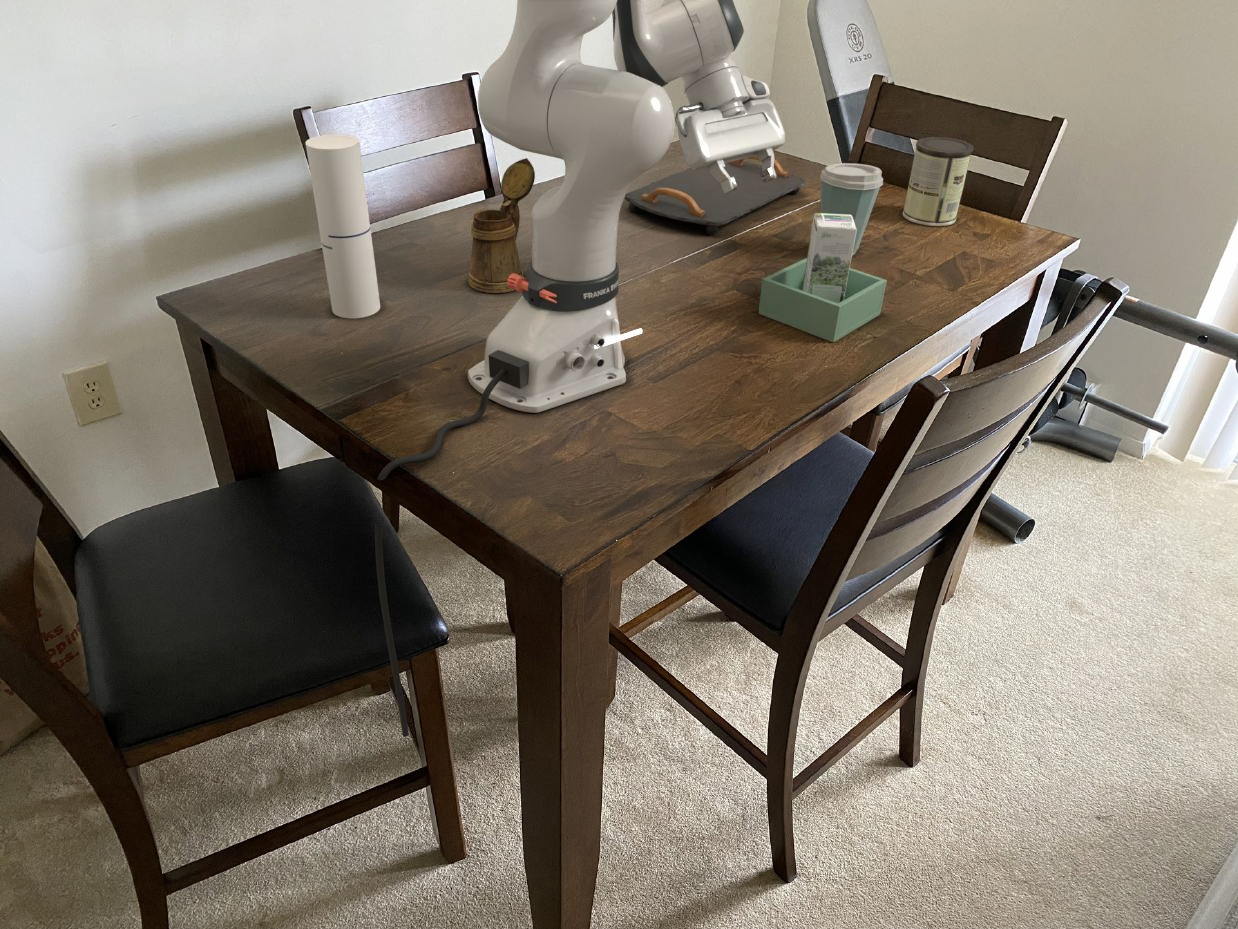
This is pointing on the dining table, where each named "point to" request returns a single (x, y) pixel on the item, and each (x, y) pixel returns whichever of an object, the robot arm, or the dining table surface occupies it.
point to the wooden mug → (500, 233)
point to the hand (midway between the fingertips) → (751, 185)
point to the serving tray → (713, 194)
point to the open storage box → (821, 302)
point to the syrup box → (829, 256)
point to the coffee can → (937, 181)
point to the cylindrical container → (344, 224)
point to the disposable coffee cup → (850, 193)
